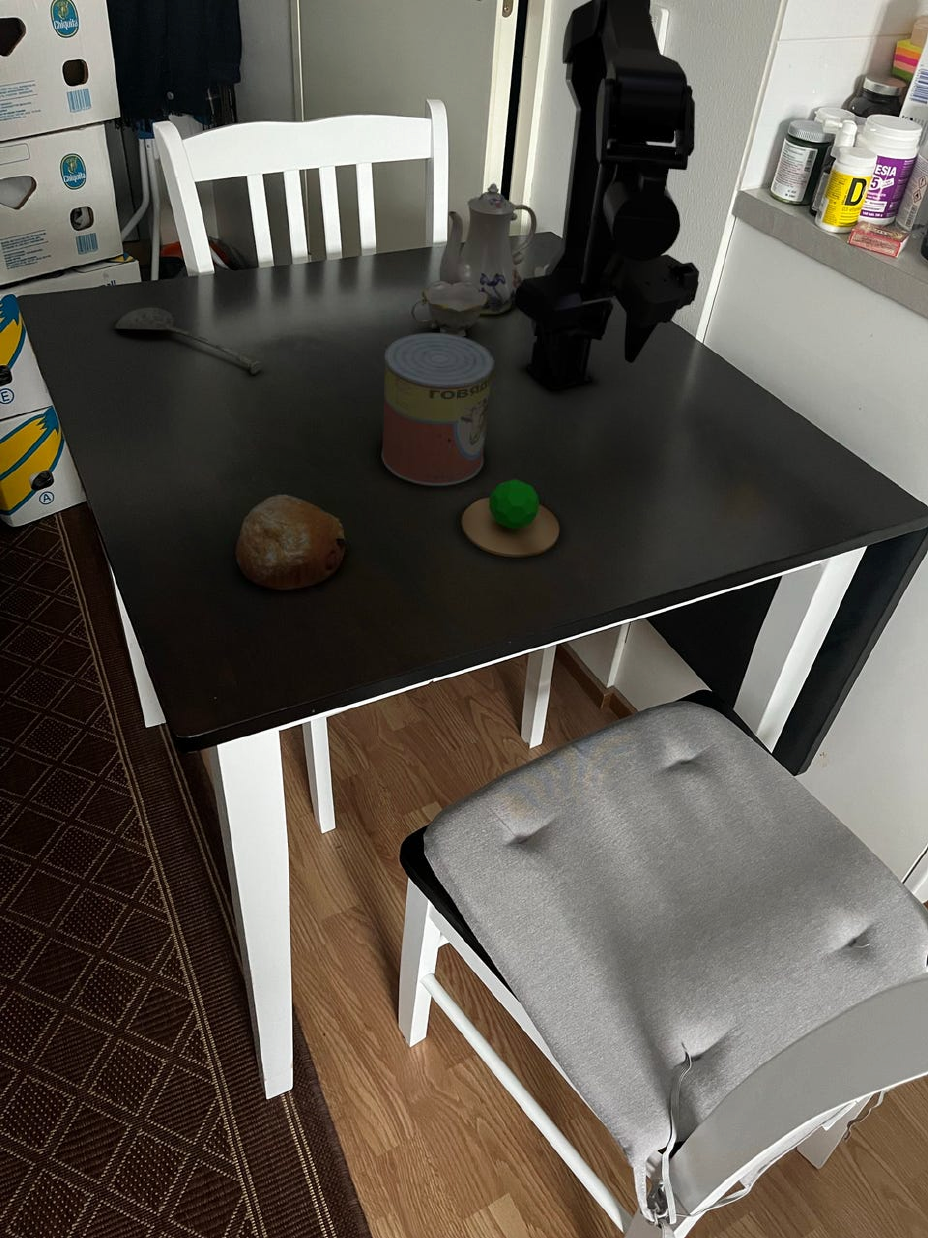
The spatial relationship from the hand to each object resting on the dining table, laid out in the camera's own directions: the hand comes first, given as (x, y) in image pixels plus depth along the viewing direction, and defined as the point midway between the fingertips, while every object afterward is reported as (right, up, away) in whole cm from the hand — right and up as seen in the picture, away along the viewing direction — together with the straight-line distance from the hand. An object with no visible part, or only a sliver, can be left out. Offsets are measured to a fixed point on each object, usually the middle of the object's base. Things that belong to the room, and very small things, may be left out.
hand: (594, 369), depth 102 cm
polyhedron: (-9, -16, -2) cm, 19 cm away
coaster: (-9, -17, -1) cm, 19 cm away
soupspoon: (-48, +8, +21) cm, 53 cm away
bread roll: (-30, -20, -8) cm, 37 cm away
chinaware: (-9, +17, +36) cm, 41 cm away
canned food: (-17, -8, +7) cm, 20 cm away
